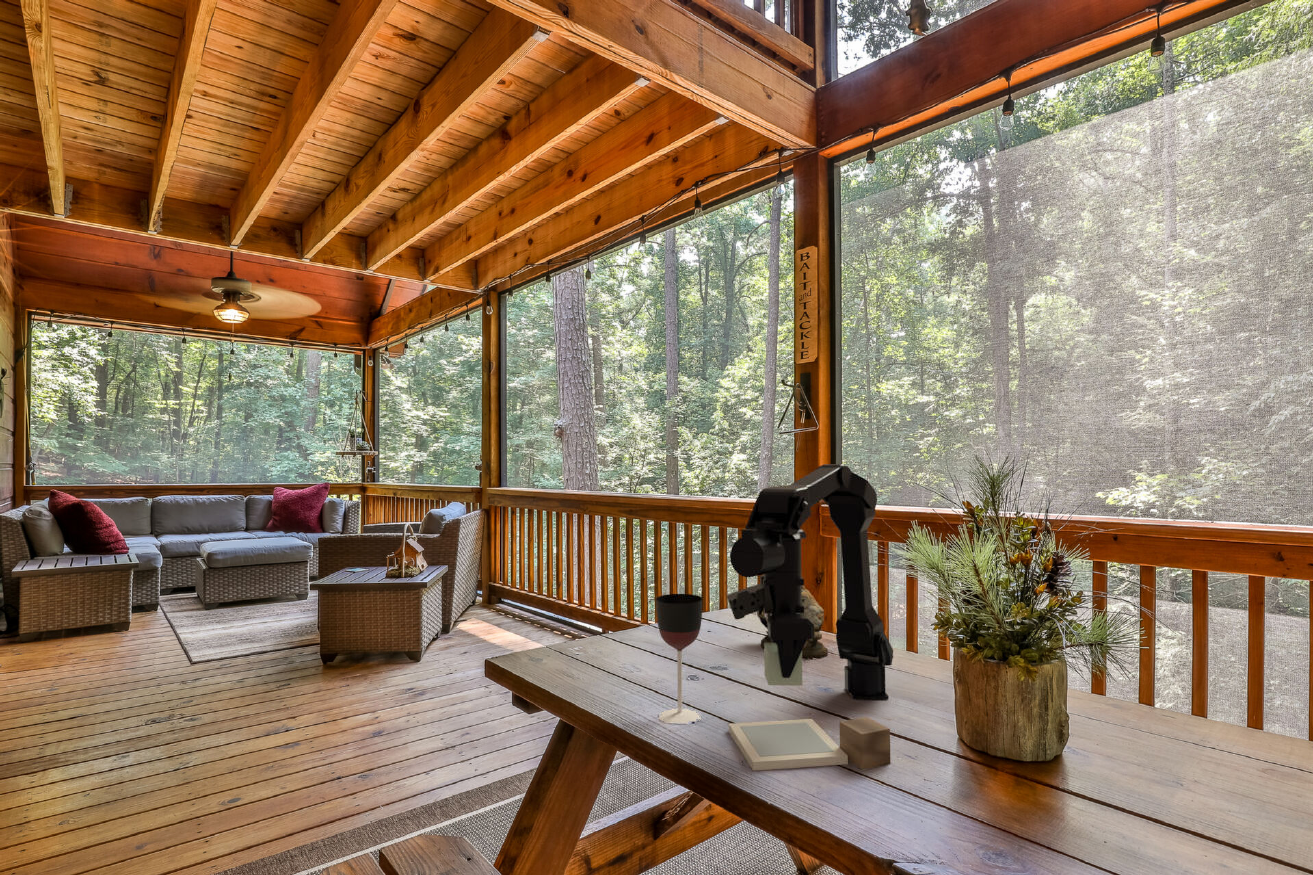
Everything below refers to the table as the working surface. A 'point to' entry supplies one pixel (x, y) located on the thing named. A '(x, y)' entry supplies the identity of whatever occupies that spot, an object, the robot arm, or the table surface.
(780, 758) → the tray
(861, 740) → the walnut cube
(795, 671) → the sage cube
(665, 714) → the wineglass
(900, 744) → the table surface
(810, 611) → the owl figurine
